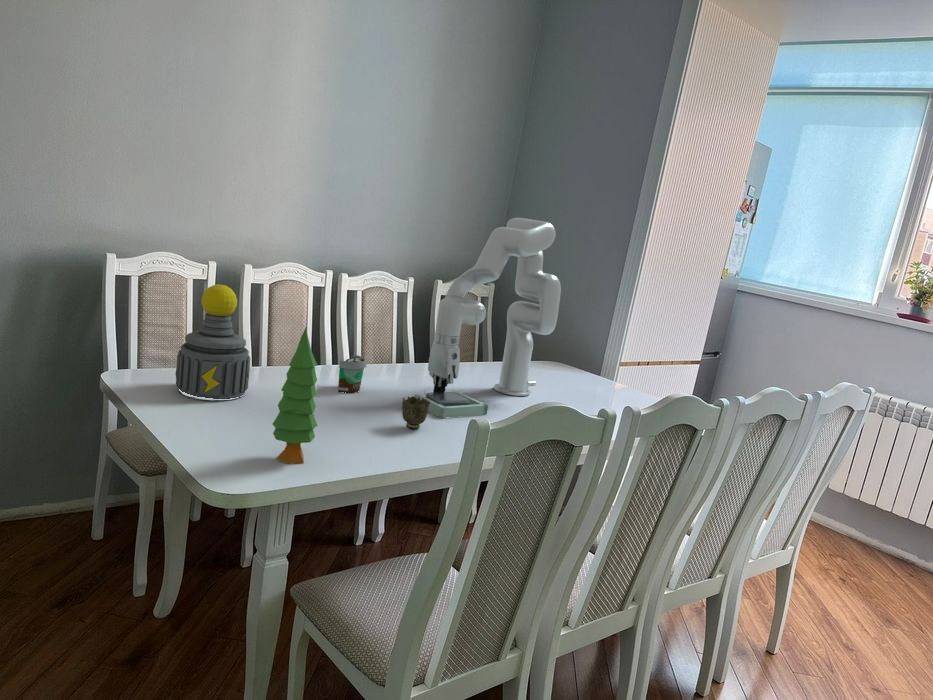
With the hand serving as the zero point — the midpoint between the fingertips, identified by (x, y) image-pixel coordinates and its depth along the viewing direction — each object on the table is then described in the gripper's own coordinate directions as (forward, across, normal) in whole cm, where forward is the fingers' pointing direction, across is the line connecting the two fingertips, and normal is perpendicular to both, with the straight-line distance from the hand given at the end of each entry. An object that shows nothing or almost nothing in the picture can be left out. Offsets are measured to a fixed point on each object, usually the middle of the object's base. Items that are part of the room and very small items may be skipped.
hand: (438, 398), depth 226 cm
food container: (+2, +17, +20) cm, 26 cm away
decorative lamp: (+2, +22, +62) cm, 66 cm away
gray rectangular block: (+2, -6, +2) cm, 7 cm away
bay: (+2, -6, 0) cm, 6 cm away
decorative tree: (+2, -30, +64) cm, 71 cm away
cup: (+2, -19, +23) cm, 30 cm away
